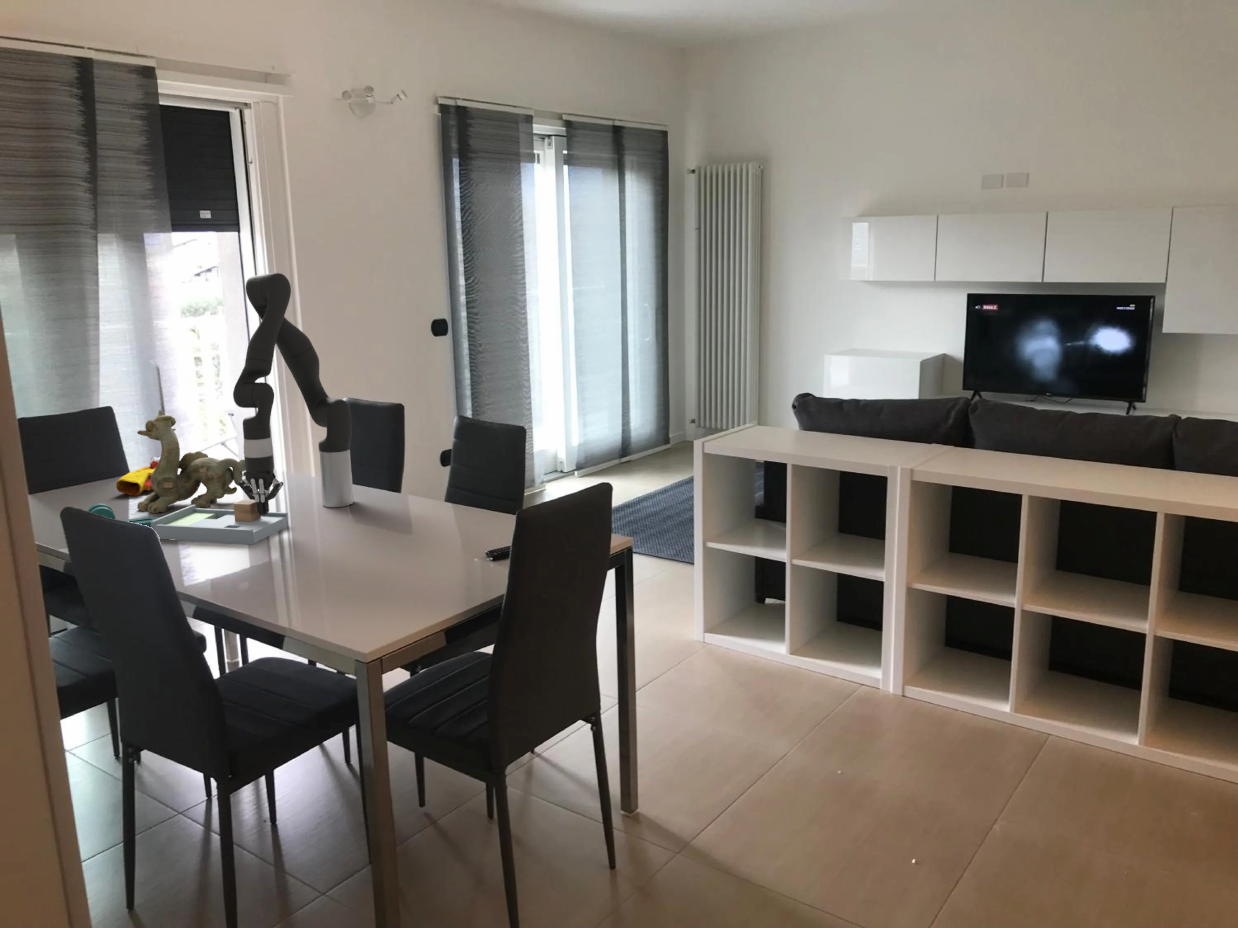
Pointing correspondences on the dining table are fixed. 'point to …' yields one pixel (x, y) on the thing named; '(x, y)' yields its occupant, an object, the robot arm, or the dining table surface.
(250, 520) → the block
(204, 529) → the tray
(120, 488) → the toy
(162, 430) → the sculpture
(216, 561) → the dining table surface
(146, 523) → the bracket
